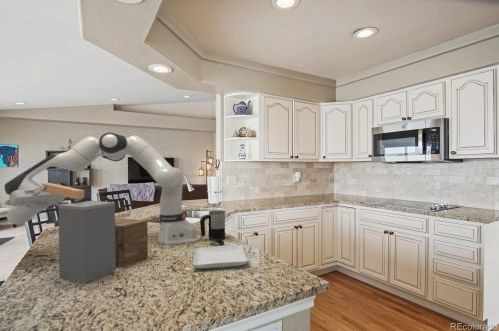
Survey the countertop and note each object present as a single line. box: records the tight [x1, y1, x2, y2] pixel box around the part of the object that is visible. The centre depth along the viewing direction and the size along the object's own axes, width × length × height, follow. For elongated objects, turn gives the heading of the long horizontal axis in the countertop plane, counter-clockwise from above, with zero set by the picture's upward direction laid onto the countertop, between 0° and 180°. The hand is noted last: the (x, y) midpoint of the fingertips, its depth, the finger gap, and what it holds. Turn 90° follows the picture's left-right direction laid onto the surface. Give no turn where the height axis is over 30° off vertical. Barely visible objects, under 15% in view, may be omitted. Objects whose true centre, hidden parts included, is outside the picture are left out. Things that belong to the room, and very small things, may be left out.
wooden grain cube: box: [115, 218, 149, 268], centre depth 113 cm, size 14×12×16 cm
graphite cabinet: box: [58, 200, 117, 284], centre depth 99 cm, size 14×12×26 cm
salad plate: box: [192, 244, 249, 270], centre depth 111 cm, size 21×21×3 cm
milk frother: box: [199, 209, 226, 245], centre depth 140 cm, size 14×16×15 cm
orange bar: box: [41, 182, 85, 200], centre depth 105 cm, size 22×3×3 cm, turn 66°
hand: (50, 186), depth 108 cm, fingers closed on orange bar, 3 cm apart
